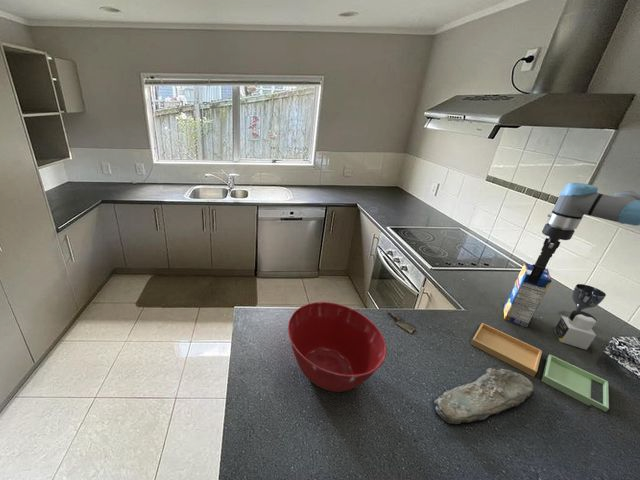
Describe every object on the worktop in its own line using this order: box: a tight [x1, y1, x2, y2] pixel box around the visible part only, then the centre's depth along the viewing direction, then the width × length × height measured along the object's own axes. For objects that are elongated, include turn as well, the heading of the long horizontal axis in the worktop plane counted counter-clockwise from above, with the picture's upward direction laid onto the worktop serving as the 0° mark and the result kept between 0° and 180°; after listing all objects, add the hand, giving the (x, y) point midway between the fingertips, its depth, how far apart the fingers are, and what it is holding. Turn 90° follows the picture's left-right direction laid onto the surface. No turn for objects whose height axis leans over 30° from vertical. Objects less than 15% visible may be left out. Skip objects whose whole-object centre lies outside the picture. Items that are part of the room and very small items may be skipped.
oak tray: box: [470, 322, 543, 378], centre depth 99 cm, size 17×13×2 cm
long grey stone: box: [433, 367, 534, 425], centre depth 81 cm, size 35×5×10 cm
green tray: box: [541, 353, 610, 413], centre depth 87 cm, size 13×13×2 cm
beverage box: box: [503, 262, 552, 328], centre depth 111 cm, size 7×11×22 cm, turn 141°
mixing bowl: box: [287, 301, 387, 393], centre depth 86 cm, size 28×28×16 cm
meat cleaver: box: [386, 310, 415, 334], centre depth 110 cm, size 12×1×5 cm
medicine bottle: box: [553, 309, 598, 350], centre depth 102 cm, size 7×7×12 cm
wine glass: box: [559, 283, 607, 318], centre depth 112 cm, size 8×8×15 cm
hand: (534, 276), depth 108 cm, fingers open, 13 cm apart
